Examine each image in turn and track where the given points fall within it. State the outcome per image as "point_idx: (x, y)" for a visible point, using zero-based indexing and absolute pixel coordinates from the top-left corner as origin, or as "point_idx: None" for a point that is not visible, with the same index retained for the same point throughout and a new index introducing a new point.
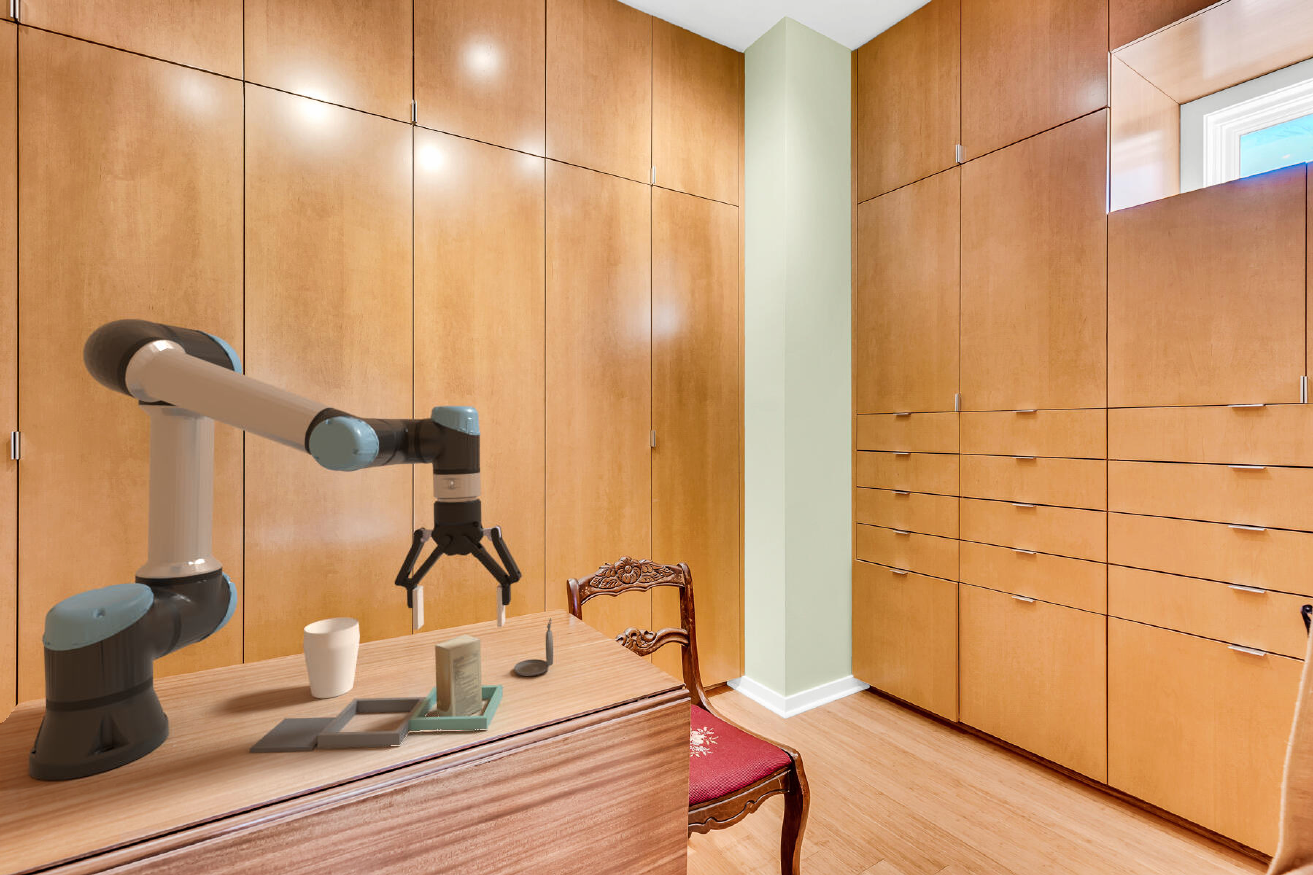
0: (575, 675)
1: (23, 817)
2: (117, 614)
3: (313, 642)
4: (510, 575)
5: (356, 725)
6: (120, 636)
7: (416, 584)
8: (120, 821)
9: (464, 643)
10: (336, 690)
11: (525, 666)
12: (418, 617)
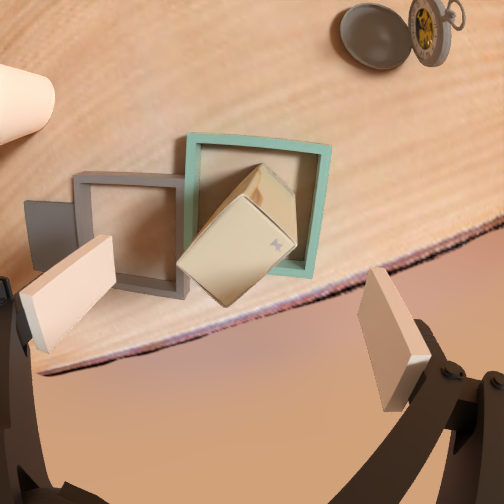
0: (457, 88)
1: None
2: None
3: None
4: (452, 445)
5: (106, 220)
6: None
7: (19, 323)
8: (33, 346)
9: (255, 273)
10: (40, 126)
11: (360, 18)
12: (99, 295)
